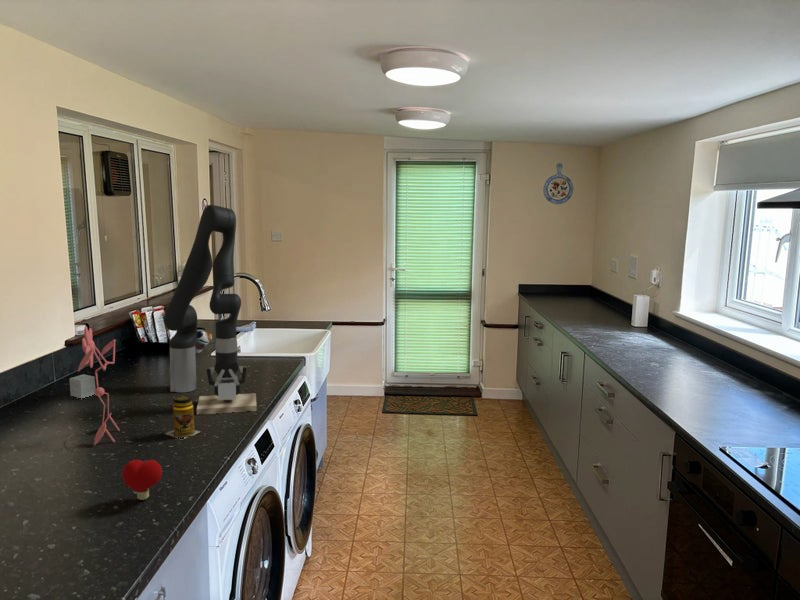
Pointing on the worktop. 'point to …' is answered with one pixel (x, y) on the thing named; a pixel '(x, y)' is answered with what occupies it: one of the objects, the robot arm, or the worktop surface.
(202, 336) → the lucky cat figurine
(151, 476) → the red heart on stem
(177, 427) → the condiment
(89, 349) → the figurine
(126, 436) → the worktop surface
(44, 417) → the worktop surface
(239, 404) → the hub base
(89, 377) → the product box
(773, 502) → the worktop surface
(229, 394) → the steel collar
